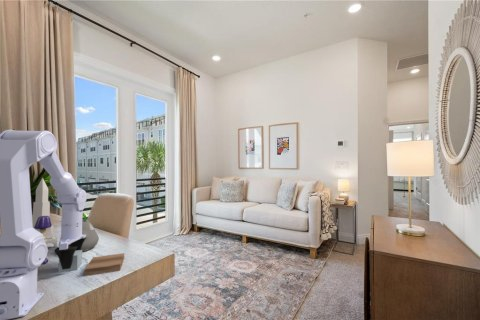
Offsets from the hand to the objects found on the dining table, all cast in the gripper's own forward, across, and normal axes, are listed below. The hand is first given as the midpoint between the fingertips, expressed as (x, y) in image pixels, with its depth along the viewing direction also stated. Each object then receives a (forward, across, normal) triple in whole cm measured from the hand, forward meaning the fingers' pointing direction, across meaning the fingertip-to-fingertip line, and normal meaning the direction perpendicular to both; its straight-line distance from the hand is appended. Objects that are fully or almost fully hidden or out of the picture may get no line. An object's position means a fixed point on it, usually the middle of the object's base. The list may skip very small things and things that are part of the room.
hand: (70, 263), depth 74 cm
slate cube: (+2, 0, 0) cm, 2 cm away
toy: (+2, +20, +3) cm, 20 cm away
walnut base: (+2, -3, -11) cm, 12 cm away
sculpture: (+2, +25, +18) cm, 31 cm away
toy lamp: (+2, +8, +11) cm, 14 cm away
